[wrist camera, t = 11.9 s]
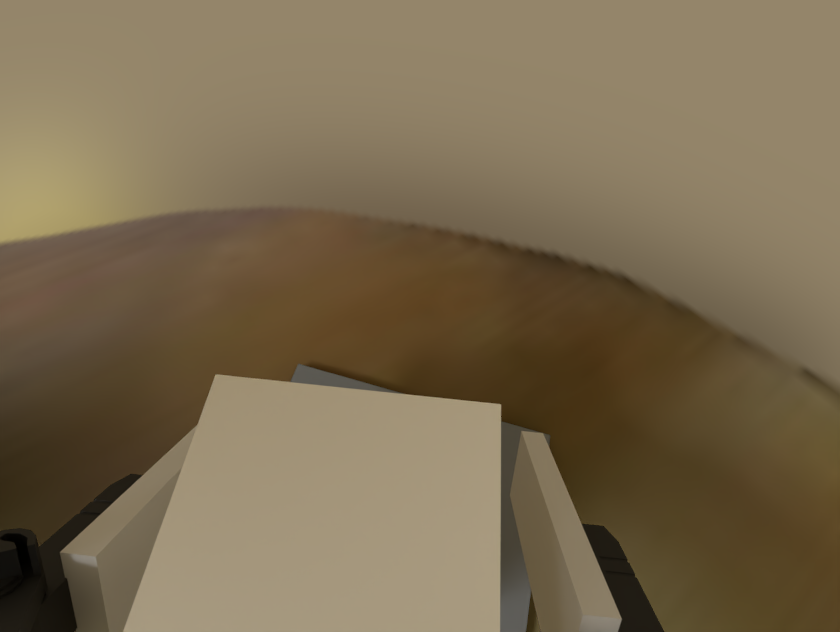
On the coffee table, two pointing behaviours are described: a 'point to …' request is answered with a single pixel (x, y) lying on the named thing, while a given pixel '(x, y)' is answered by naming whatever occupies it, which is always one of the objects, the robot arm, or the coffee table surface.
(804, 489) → the coffee table surface
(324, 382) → the slate mat
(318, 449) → the cream block
